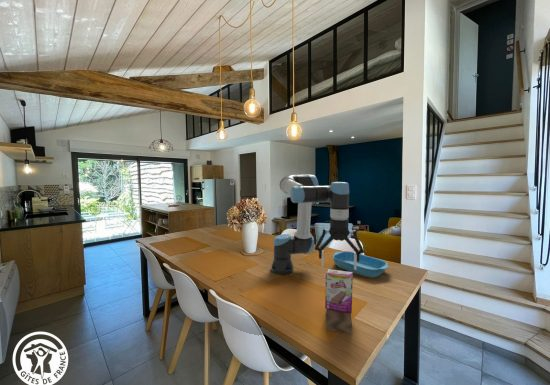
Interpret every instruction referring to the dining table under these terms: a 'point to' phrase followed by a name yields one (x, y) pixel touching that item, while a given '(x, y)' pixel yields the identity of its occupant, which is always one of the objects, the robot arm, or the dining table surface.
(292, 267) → the robot arm
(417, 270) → the dining table surface
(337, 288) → the candy bar box
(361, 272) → the casserole dish
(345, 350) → the dining table surface
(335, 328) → the walnut block
